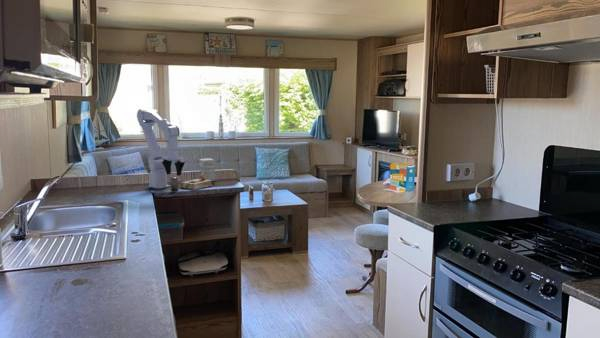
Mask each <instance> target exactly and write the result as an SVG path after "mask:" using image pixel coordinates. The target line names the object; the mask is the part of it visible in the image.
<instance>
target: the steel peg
mask: <svg viewBox="0 0 600 338" xmlns="http://www.w3.org/2000/svg"><path fill="white" fill-rule="evenodd" d="M169 178H170V185H171V186H170V191H171V192H178V191H179V182H178V181H179V180H178V177H177V176H173V177H172V176H171V177H169Z"/></svg>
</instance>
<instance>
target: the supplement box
mask: <svg viewBox="0 0 600 338" xmlns="http://www.w3.org/2000/svg"><path fill="white" fill-rule="evenodd" d="M198 161H199V162H198V165H199V166H198V167H199V172H200V171H201V172H202V173H201V175H202V176H203V177H204V178H205V179H206V180H211V182H215V181H216V170H215V169H216V168H215V166H216V165H215V161H216V160H215V159H213V158H208V157H206V158H199V160H198Z"/></svg>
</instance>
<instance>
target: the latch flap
mask: <svg viewBox="0 0 600 338" xmlns="http://www.w3.org/2000/svg"><path fill="white" fill-rule="evenodd" d="M196 176H197V177H198V179H202V180H206V179H205V178H204V177H203V176H202V175H200V174H197V175H196Z"/></svg>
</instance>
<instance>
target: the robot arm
mask: <svg viewBox="0 0 600 338" xmlns="http://www.w3.org/2000/svg"><path fill="white" fill-rule="evenodd" d="M136 118H137V121H138V124H139V126H140V127H141V129H142V131H143V135H144V138H145V140H146V143H147V147H148V149H149V152H150V153H149V154H150V156H149V157H148V158H147V162H148V169H149V170H150V172H149V173H148V184H149V185H148V188H153V189H163V188H168V187H171V184H168V175H171V174H172V163H173V162H174V167H175V169H176V170H175V171H176V177H177V176H178V177H180V176H181V175H182V173H183V168H184V167H185V166H184V165H185V164H186V162H185V158H184V157H179V143H178V142H179V140H178V139H179V138H178V137H179V136H180V131H181V130H180V128H179V127H178V125H173V124H172V123H170V122H169V121H168V119H166V118H162V117H161V116H160V115H159V111H158V110H157V109H156V108H146V109H145V108H143V109H141V108H140V109H138V110H137V113H136ZM156 124H157V127H158V129H159V130H161V131H162V132H163V136H164V140H165V141H166V154H164V153H162V152H161V150H160V147H159V143H158V141H157V138H156V135H155V131H154V130H153V127H154V126H155V125H156Z"/></svg>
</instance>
